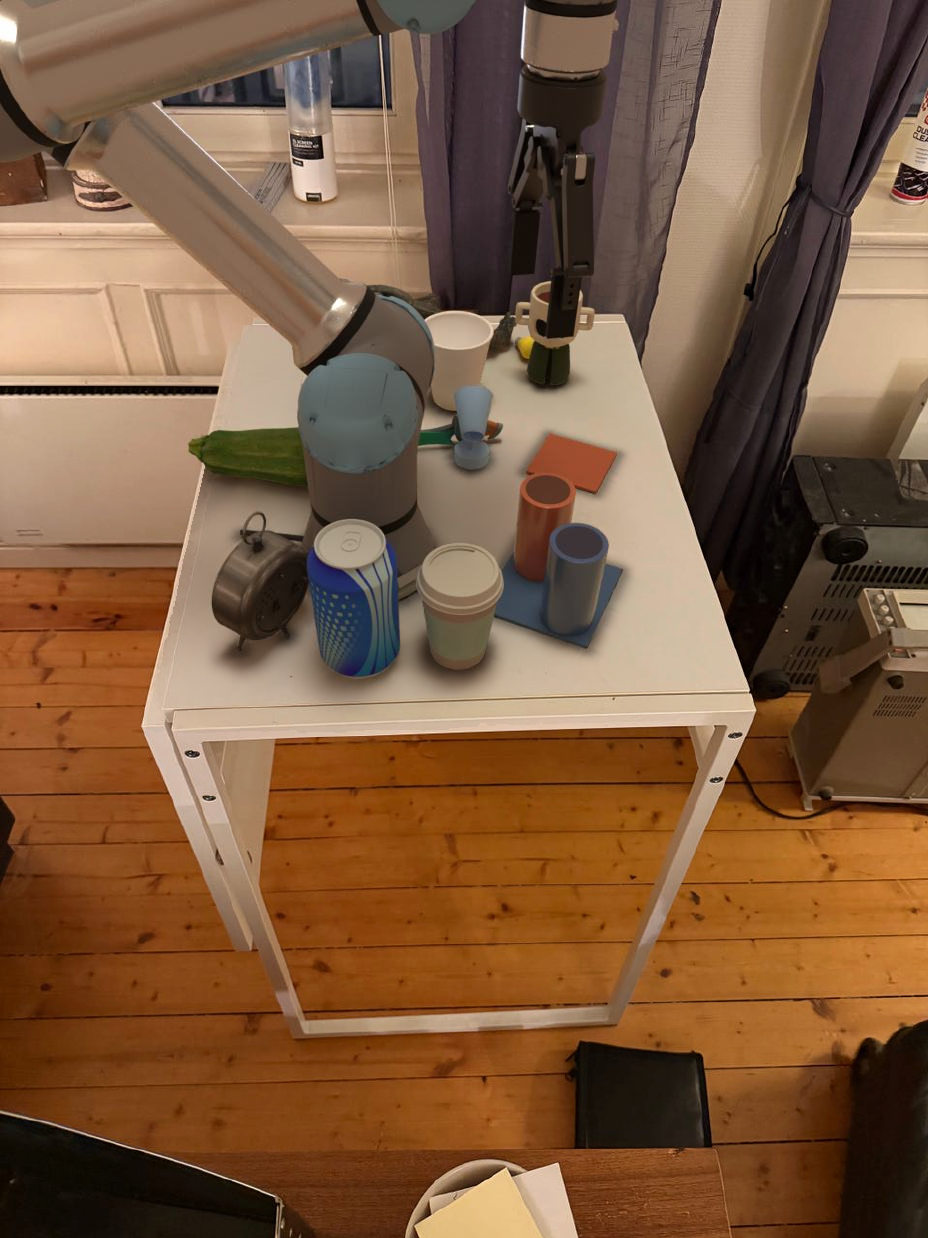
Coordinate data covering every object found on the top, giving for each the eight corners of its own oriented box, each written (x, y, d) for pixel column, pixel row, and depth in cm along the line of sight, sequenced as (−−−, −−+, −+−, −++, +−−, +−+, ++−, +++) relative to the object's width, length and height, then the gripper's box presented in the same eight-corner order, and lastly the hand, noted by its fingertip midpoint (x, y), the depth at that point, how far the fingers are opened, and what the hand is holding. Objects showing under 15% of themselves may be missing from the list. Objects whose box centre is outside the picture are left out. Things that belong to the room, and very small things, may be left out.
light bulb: (524, 353, 128) (539, 333, 127) (503, 342, 132) (518, 324, 132) (536, 367, 130) (551, 348, 130) (515, 356, 134) (530, 338, 134)
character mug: (508, 386, 125) (515, 302, 116) (512, 360, 130) (519, 277, 121) (584, 393, 125) (596, 309, 115) (585, 366, 130) (597, 283, 120)
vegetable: (332, 481, 103) (170, 469, 105) (344, 496, 111) (192, 484, 112) (338, 422, 104) (177, 410, 106) (350, 440, 111) (199, 429, 113)
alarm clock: (287, 589, 97) (267, 475, 85) (325, 608, 96) (310, 494, 84) (220, 651, 91) (188, 537, 79) (260, 673, 89) (233, 560, 77)
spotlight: (452, 440, 117) (452, 472, 112) (454, 375, 109) (453, 407, 105) (489, 441, 117) (490, 473, 112) (493, 376, 109) (494, 408, 105)
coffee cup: (500, 623, 95) (507, 542, 86) (494, 684, 89) (501, 604, 80) (423, 615, 95) (422, 535, 86) (412, 676, 90) (410, 596, 81)
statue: (530, 311, 128) (332, 254, 116) (520, 352, 129) (324, 300, 118) (503, 314, 137) (317, 261, 125) (495, 352, 138) (310, 304, 127)
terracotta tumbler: (505, 571, 100) (511, 497, 92) (524, 539, 103) (531, 465, 95) (554, 588, 98) (565, 514, 90) (571, 554, 102) (583, 481, 94)
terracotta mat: (525, 473, 113) (525, 470, 112) (549, 435, 118) (549, 433, 118) (595, 493, 110) (596, 491, 110) (616, 454, 116) (617, 452, 115)
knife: (499, 434, 118) (501, 403, 114) (503, 443, 117) (505, 412, 113) (354, 454, 114) (351, 423, 111) (357, 464, 113) (354, 432, 109)
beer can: (416, 655, 92) (414, 544, 80) (355, 699, 87) (343, 588, 76) (365, 612, 95) (356, 500, 84) (304, 652, 91) (285, 540, 80)
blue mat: (479, 611, 96) (479, 608, 96) (521, 539, 104) (522, 536, 104) (586, 648, 93) (587, 646, 93) (622, 571, 101) (623, 568, 101)
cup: (466, 428, 119) (468, 357, 111) (406, 405, 122) (404, 334, 114) (502, 394, 124) (507, 324, 116) (444, 373, 128) (445, 303, 120)
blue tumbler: (531, 625, 94) (540, 551, 86) (550, 589, 98) (561, 515, 90) (583, 643, 93) (598, 569, 85) (600, 606, 96) (616, 532, 88)
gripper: (660, 112, 66) (615, 362, 82) (562, 27, 83) (539, 248, 98) (567, 116, 65) (539, 369, 80) (486, 28, 81) (475, 252, 97)
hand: (539, 303), depth 89 cm, fingers open, 13 cm apart
